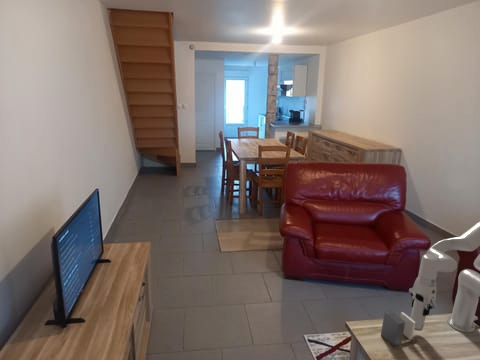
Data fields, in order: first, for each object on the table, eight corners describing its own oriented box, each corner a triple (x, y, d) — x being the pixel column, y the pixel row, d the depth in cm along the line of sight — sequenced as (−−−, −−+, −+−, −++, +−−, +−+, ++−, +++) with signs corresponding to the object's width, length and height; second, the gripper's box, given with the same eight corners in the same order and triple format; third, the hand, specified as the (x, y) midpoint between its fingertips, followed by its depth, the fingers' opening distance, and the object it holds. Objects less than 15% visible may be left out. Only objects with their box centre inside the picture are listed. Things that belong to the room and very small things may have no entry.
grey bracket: (401, 329, 179) (406, 306, 175) (416, 341, 171) (421, 317, 167) (380, 335, 174) (384, 312, 170) (394, 348, 166) (398, 323, 162)
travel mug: (425, 332, 172) (433, 297, 166) (410, 329, 173) (418, 295, 167) (421, 323, 178) (429, 290, 172) (407, 321, 179) (414, 288, 173)
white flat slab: (399, 328, 178) (402, 312, 175) (413, 340, 170) (417, 323, 167) (397, 329, 177) (400, 312, 174) (411, 341, 169) (415, 324, 166)
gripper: (448, 287, 161) (440, 320, 167) (417, 268, 177) (411, 299, 182) (436, 290, 159) (428, 323, 164) (406, 271, 174) (400, 301, 179)
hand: (419, 310), depth 173 cm, fingers closed on travel mug, 6 cm apart
